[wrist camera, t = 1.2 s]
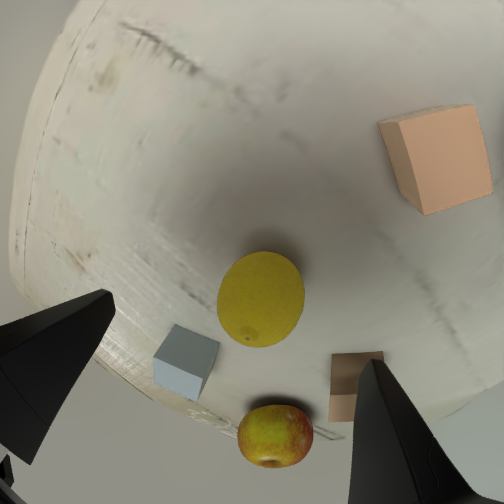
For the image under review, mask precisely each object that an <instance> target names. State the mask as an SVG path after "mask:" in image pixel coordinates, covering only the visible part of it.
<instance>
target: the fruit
mask: <svg viewBox="0 0 504 504" xmlns="http://www.w3.org/2000/svg"><path fill="white" fill-rule="evenodd" d="M237 438H238V445H239V448H240V451H241V453H242V454H243V455H244V457H245V458H246V459H247V460H248V461H250V462H251V463H253V464H255V465H258V466H262V467H265V468H282V467H287V466H291V465H294V464H296V463H298V462H300V461H301V460H302V459H303V458H304V457H305V456H306V455H307V453H308V452H309V450H310V448H311V445H312V442H313V426H312V423H311V421H310V419H309V418H308V416H307V415H306V414H305V413H304V412H303V411H301V410H300V409H298V408H296V407H293V406H289V405H268V406H264V407H259V408H257V409H254V410H252V411H250V412H249V413H248V414H246V415H245V417H244V418H243V419H242V421H241V422H240V425H239V428H238V434H237Z"/></svg>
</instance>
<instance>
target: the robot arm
mask: <svg viewBox="0 0 504 504" xmlns="http://www.w3.org/2000/svg"><path fill="white" fill-rule="evenodd" d="M115 311H116V309H115V304H114V299H113V295H112V293H111V292H110V291H107V290H105V289H100V290H97V291H94V292H91V293H88V294H86V295H83V296H80V297H78V298H75V299H72V300H69V301H67V302H64V303H61V304H58V305H56V306H53V307H50V308H48V309H45V310H42V311H40V312H37V313H35V314H32V315H29V316H26V317H24V318H23V319H22V318H21V319H18V320H16V321H13V322H11V323H8V324H5V325H2V326H0V504H26V503H25V502H24V501H23V500H22V499H21V498H20V497H19V496H18V495H17V494H16V493H15V492H14V491H13V490H12V489H11V486H12V484H13V482H14V478H13V473H12V468H11V463H10V457H9V455H8V454H7V452H8V451H10V452H12V453H13V454H14V455H16V456H17V457H19V458H20V459H21V460H23V461H24V462H26V463H27V464H29V465H31V463H32V462H33V459H34V457H35V455H36V453H37V451H38V449H39V447H40V445H41V443H42V441H43V439H44V437H45V436H46V434H47V432H48V430H49V427H50V426H51V424H52V422H53V420H54V418H55V417H56V415H57V413H58V411H59V409H60V408H61V406H62V404H63V402H64V401H65V399H66V397H67V396H68V394H69V392H70V391H71V388H72V387H73V386H74V384H75V382H76V381H77V379H78V377H79V376H80V374H81V372H82V371H83V369H84V368H85V366H86V364H87V363H88V361H89V360H90V358H91V357H92V355H93V354H94V352H95V350H96V349H97V347H98V345H99V344H100V342H101V340H102V338H103V336H104V334H105V332H106V330H107V328H108V327H109V325H110V323H111V321H112V319H113V317H114V315H115ZM348 504H504V502H500V501H496V500H492V499H489V498H486V497H482V496H481V495H479V494H477V493H476V492H475V491H473V489H472V488H471V487H470V486H469V485H468V483H467V482H466V481H465V479H464V478H463V477H462V475H461V474H460V473H459V471H458V470H457V469H456V468H455V466H454V465H453V463H452V462H451V461H450V459H449V458H448V457H447V456H446V454H445V452H444V451H443V449H442V448H441V446H440V445H439V443H438V441H437V440H436V438H435V437H434V436H433V434H432V432H431V431H430V429H429V427H428V426H427V424H426V423H425V421H424V420H423V418H422V417H421V415H420V414H419V412H418V411H417V409H416V408H415V406H414V405H413V403H412V402H411V400H410V399H409V397H408V396H407V394H406V393H405V391H404V390H403V388H402V387H401V385H400V384H399V383H398V381H397V380H396V378H395V377H394V375H393V374H392V372H391V371H390V370H389V368H388V367H387V365H386V364H385V363H384V361H383V360H382V359H376V358H370V359H369V360H368V362H367V364H366V365H365V367H364V368H363V370H362V372H361V373H360V376H359V380H358V389H357V398H356V406H355V414H354V429H353V452H352V468H351V479H350V489H349V498H348Z"/></svg>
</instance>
